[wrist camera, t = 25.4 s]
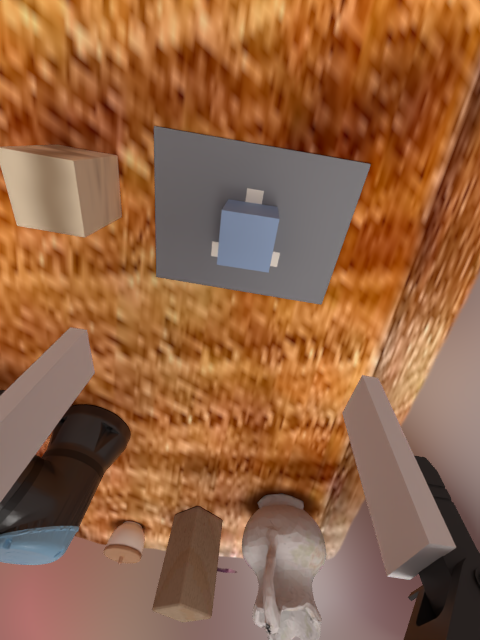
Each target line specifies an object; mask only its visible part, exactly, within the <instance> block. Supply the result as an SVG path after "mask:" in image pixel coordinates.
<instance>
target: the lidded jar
mask: <svg viewBox="0 0 480 640" xmlns="http://www.w3.org/2000/svg"><path fill="white" fill-rule="evenodd" d="M144 541H145V536H144V532H143V529H142V526H141V525H140V524H138V523H136V522H132V521H126V522H123V524H121V525H120V526H119V527H117V528H116V529H115V530H114V532H113V533H112V535H111V537H110V539H109V541H108V543H107V546H106V548H105V549H104V555H105V556H106V557H108V558H109V559H111V560H114V561H117V562H118V564H121V563H137V562H139V561H140V559H141V555H142V551H143V548H144Z"/></svg>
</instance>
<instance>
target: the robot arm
mask: <svg viewBox="0 0 480 640" xmlns="http://www.w3.org/2000/svg"><path fill="white" fill-rule="evenodd" d="M94 373H95V372H94V366H93V361H92V355H91V350H90V345H89V339H88V334H87V330H84V329H78V328H72V327H70V328H69V329H68V330H67V331H66V332H65V333H64V334H63V335H62V336H61V337H60V338H59V339H58V340H57V341H56V342H55V343H54V344H53V345H52V346H51V347H50V348H49V349H48V350H47V351H46V352H45V353H44V354H43V355H42V356H41V357H40V358H38V359H37V360H36V361H35V362H34V363H33V364H32V365H31V366H30V367H29V368H28V369H27V370H26V371H25V372H24V373H23V374H22V375H21V376H20V377H19V378H18V379H17V380H16V381H15V382H14V383H13V384H12V385H11V386H10V387H9V388H8V389H7V390H6V391H5V390H0V562H5V563H12V564H21V565H22V564H23V565H40V564H47V563H51V562H54V561H56V560H57V559H59V558H60V557H61V556H62V555H63V554H64V553H65V552H66V550H67V548H68V546H69V545H70V543H71V541H72V539H73V537H74V535H75V533H76V532H77V531H78V530H79V526H80V524H81V522H82V519H83V517H84V515H85V513H86V511H87V509H88V507H89V505H90V502H91V500H92V498H93V496H94V494H95V492H96V490H97V488H98V485H99V483H100V481H101V479H102V477H103V475H104V473H105V471H106V470H107V469H108V468H109V467H110V466H111V465H112V464H113V462H114V461H115V460H116V459H117V458H118V457H119V456H120V455H121V453H122V452H123V451H124V450H125V448H126V446H127V444H128V442H129V439H130V431H129V428H128V427H127V425H126V424H125V423H124V422H123V421H122V420H121V419H120V418H119V417H118V416H116V415H115V414H113V413H111V412H109V411H107V410H105V409H102V408H99V407H96V406H91V405H75V406H71V405H72V403H73V402H74V401H75V399H76V398H77V396H78V395H79V394H80V392H81V391H82V390H83V388H84V387H85V385H86V384H87V383H88V381H89V380H90V379H91V377H92V376H93V374H94ZM70 406H71V407H70ZM343 417H344V421H345V424H346V428H347V432H348V435H349V439H350V443H351V446H352V450H353V453H354V457H355V461H356V464H357V468H358V472H359V475H360V479H361V483H362V486H363V490H364V494H365V497H366V501H367V504H368V508H369V512H370V515H371V519H372V523H373V526H374V530H375V534H376V537H377V541H378V545H379V548H380V552H381V555H382V559H383V563H384V566H385V570H386V574H387V576H388V577H395V578H402V579H408V580H410V579H412V578H413V577H415V576H416V575H417V574H419V575H420V578H421V581H422V584H423V585H422V586H421V587H419V588H418V589H416V590H415V591H413V592H412V593H411V594H410V595H409V597H408V598H409V599H410V600H411V601H412V600H414V599H415V598H417V599H416V602H415V605H414V609H413V612H412V615H411V618H410V621H409V624H408V628H407V631H406V634H405V637H404V640H480V553H479V552H478V550H477V548H476V547H475V544H474V542H473V541H472V539H471V537H470V535H469V533H468V531H467V529H466V527H465V525H464V523H463V521H462V519H461V517H460V515H459V513H458V511H457V509H456V507H455V505H454V503H453V502H451V497H450V495H449V493H448V492H447V490H446V489H445V486H444V484H443V482H442V480H441V478H440V476H439V474H438V472H437V470H436V469H435V468H434V467H433V466H432V465H431V463H430V462H429V461H428V460H427V459H426V458H425V457H419V456H414V455H413V452H412V450H411V448H410V446H409V444H408V442H407V439H406V437H405V435H404V433H403V431H402V429H401V426H400V424H399V422H398V420H397V418H396V416H395V413H394V411H393V409H392V407H391V405H390V403H389V400H388V398H387V396H386V394H385V392H384V390H383V387H382V385H381V383H380V381H379V379H378V378H375V377H369V376H363V375H362V377H361V379H360V381H359V383H358V384H357V386H356V388H355V390H354V392H353V394H352V396H351V398H350V400H349V401H348V403H347V405H346V407H345V409H344V411H343ZM52 431H53V432H52ZM51 432H52V435H51V438H50V442H49V445H48V448H47V450H46V452H45V453H44V455H43V456H42V458H41V457H39V456H37V455H35V454H36V453H37V451H38V450H39V449H40V447H41V446H42V445H43V443H44V442H45V440H46V439H47V438H48V436H49V435H50V434H51Z"/></svg>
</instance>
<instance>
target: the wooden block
mask: <svg viewBox="0 0 480 640" xmlns="http://www.w3.org/2000/svg"><path fill="white" fill-rule="evenodd" d="M221 530H222V520H221V519H220V518H218V517H216V516H215V515H213V514H211V513H209V512H208V511H206V510H204V509H203V508H201V507H199V506H197V507H194V508H192V509H189V510H186V511H184V512H181V513H178V514H176V515H175V517H174V521H173V526H172V530H171V534H170V538H169V542H168V546H167V550H166V555H165V559H164V563H163V567H162V572H161V575H160V580H159V584H158V588H157V592H156V596H155V600H154V604H153V611H154V612H156V613H159V614H162V615H164V616H167V617H170V618H172V619H175V620H178V621H181V622H189V621H196V620H204V619H210V618H211V616H212V608H213V599H214V591H215V582H216V573H217V564H218V556H219V547H220V539H221Z"/></svg>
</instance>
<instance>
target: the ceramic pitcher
mask: <svg viewBox="0 0 480 640" xmlns="http://www.w3.org/2000/svg"><path fill="white" fill-rule="evenodd" d="M257 503H258V506H259V508H260V509H259V510H257V511H256V512H255V513H254V514H253V515H252V516H251V518H250V519H249V521H248V522H247V525H246V527H245V530H244V534H243V539H242V553H243V558H244V560H245V562H246V563H247V564H248V566H249V567H250V568H251V569H252V570H253V571H254V572H255V574H256V576H257V578H258V583H259V590H258V595H257V599H256V602H255V605H254V608H253V615H252V617H253V620H254V624H256V625H258V626H259V627H265V631H266V633H267V636H268V640H293V639H294V637H299V638H300V639H301V640H319V636H320V632H321V629H320V625H321V622H322V619H321V616H320V614H319V612H318V610H317V607H316V604H315V601H314V598H313V592H312V582H313V578H314V576H315V575H316V574H317V573H318V572H319V571H320V569H321V568H322V567H323V565H324V562H325V559H326V548H325V542H324V538H323V535H322V533H321V530H320V528H319V526H318V525H317V523H316V522H315V521H314V519H313V518H312V517H311V516H310V515H309V514H308V513H306V512H305V511H304V510H303V508H304V504H303V501H301V500H299V499H297V498H294V497H292V496H289V495H286V494H282V493H280V494H273V495H266V496H264V497H263V498H262V499H261V500H260V501H259V502H257Z"/></svg>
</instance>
